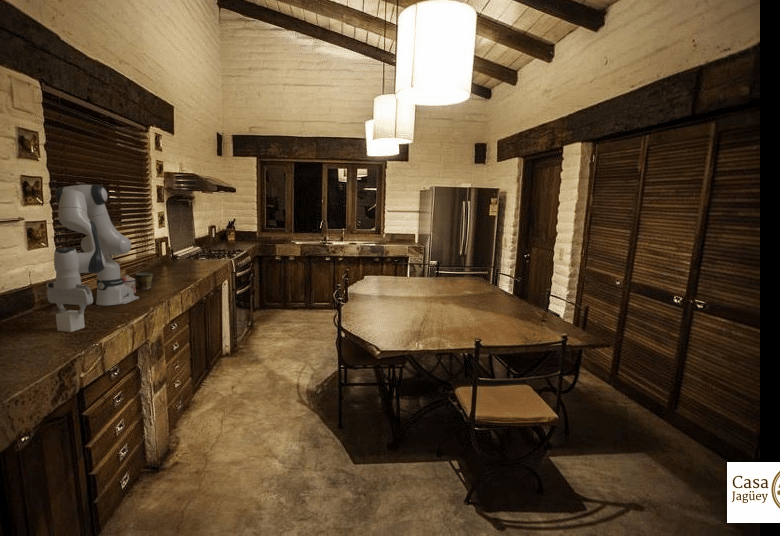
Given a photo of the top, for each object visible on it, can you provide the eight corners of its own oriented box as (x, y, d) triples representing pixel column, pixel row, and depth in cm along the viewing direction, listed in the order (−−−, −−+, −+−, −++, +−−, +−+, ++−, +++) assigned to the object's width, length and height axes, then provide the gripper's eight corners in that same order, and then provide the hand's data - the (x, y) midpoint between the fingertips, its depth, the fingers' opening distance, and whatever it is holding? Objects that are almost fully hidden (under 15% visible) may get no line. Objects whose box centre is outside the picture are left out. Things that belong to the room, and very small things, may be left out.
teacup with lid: (133, 294, 257) (131, 276, 255) (117, 295, 255) (115, 276, 254) (140, 290, 269) (139, 273, 267) (124, 291, 267) (123, 273, 265)
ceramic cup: (157, 287, 280) (156, 273, 278) (144, 290, 270) (143, 275, 269) (142, 286, 284) (141, 271, 282) (129, 288, 274) (128, 274, 273)
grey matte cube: (71, 326, 191) (70, 310, 190) (84, 327, 190) (83, 311, 189) (57, 330, 185) (55, 314, 183) (71, 331, 184) (69, 315, 182)
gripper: (95, 283, 187) (98, 312, 189) (55, 281, 190) (59, 309, 192) (83, 286, 181) (86, 316, 183) (42, 283, 183) (46, 313, 186)
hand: (72, 313), depth 188 cm, fingers open, 8 cm apart
